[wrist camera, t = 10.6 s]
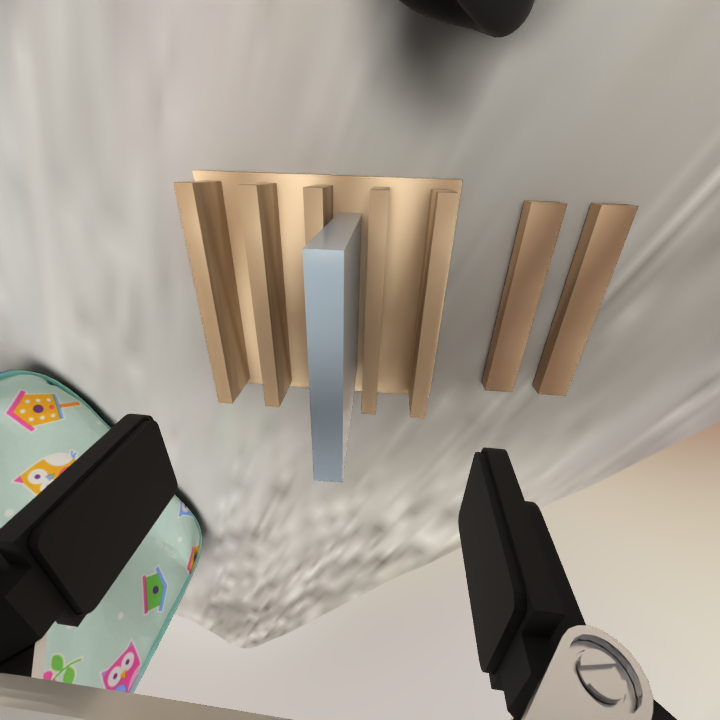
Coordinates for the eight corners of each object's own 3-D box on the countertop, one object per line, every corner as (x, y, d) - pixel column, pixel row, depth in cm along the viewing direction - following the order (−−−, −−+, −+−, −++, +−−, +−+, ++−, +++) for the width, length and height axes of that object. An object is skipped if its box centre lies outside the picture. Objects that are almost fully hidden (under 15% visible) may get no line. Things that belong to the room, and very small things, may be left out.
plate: (362, 213, 21) (344, 250, 12) (357, 368, 27) (342, 482, 17) (339, 212, 21) (302, 248, 12) (339, 367, 27) (313, 480, 17)
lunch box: (-38, 374, 32) (-664, 674, 13) (33, 332, 29) (-636, 640, 10) (159, 547, 42) (-26, 847, 24) (226, 529, 39) (75, 854, 21)
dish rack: (459, 179, 21) (475, 182, 17) (428, 388, 28) (434, 424, 24) (200, 170, 22) (157, 170, 18) (235, 375, 29) (210, 407, 25)
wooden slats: (626, 204, 21) (638, 206, 20) (558, 387, 27) (565, 395, 26) (524, 200, 21) (531, 202, 20) (481, 381, 27) (485, 390, 26)
